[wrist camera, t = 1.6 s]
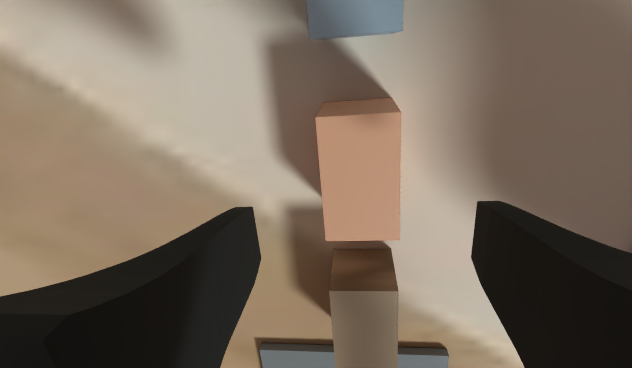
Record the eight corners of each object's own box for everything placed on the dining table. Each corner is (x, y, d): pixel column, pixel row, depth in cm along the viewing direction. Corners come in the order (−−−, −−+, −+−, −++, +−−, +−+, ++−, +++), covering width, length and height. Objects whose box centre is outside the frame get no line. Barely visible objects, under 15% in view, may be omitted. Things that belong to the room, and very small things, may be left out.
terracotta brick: (391, 97, 17) (401, 112, 14) (391, 203, 20) (399, 240, 16) (323, 102, 18) (315, 117, 14) (331, 204, 20) (325, 241, 16)
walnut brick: (390, 247, 21) (398, 291, 17) (390, 323, 23) (397, 376, 19) (333, 247, 21) (328, 291, 17) (338, 322, 23) (335, 373, 20)
